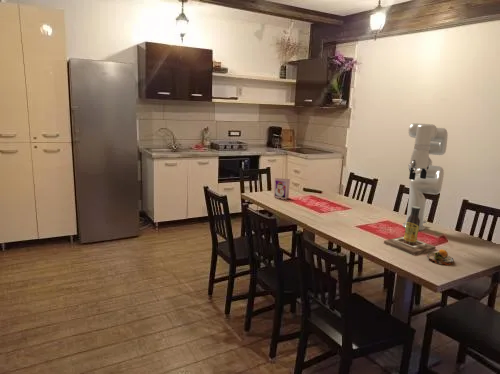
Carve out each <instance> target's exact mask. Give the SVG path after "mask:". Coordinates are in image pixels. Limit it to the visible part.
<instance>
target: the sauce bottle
mask: <svg viewBox="0 0 500 374" xmlns="http://www.w3.org/2000/svg"><path fill="white" fill-rule="evenodd" d="M411 209H412V211H411V215H410V216H409V218H408V220H407V224H406V228H404V229H405V230H404V234H403V235H404V243H406V244H409V245H415V244H416V241H417V240H418V234H419V231H420V230H419V223H420V220H419V211H420V207H416V206H412V208H411Z"/></svg>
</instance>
